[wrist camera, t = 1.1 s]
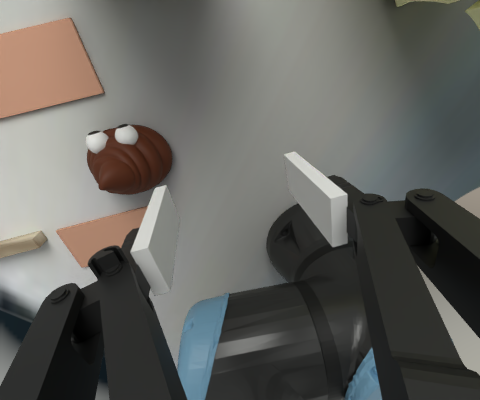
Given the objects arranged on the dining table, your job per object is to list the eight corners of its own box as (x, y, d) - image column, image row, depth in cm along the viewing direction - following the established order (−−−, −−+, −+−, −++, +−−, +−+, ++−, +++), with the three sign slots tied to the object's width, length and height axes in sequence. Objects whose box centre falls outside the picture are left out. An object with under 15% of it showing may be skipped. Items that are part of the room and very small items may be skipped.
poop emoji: (109, 193, 33) (80, 232, 25) (77, 131, 29) (30, 153, 21) (181, 176, 34) (175, 208, 26) (159, 112, 30) (144, 126, 22)
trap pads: (171, 242, 38) (170, 243, 38) (82, 266, 38) (81, 267, 37) (71, 18, 25) (69, 17, 24) (-69, 51, 24) (-73, 51, 24)
